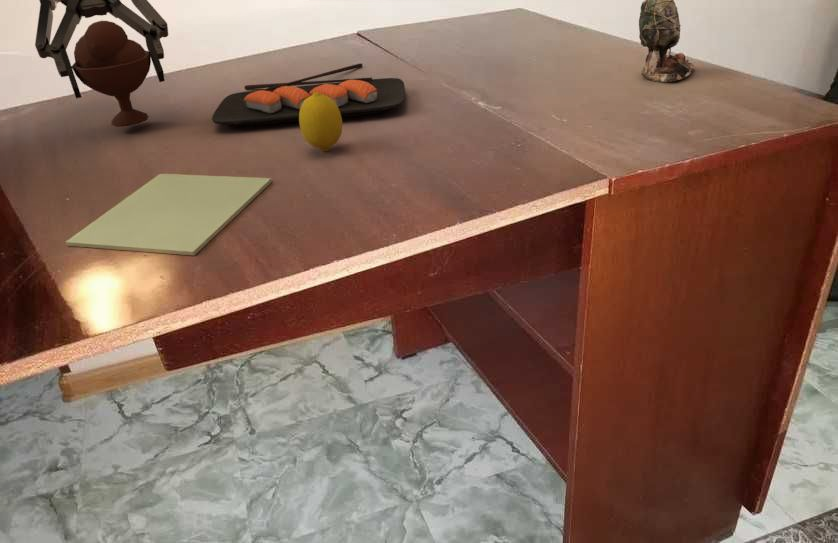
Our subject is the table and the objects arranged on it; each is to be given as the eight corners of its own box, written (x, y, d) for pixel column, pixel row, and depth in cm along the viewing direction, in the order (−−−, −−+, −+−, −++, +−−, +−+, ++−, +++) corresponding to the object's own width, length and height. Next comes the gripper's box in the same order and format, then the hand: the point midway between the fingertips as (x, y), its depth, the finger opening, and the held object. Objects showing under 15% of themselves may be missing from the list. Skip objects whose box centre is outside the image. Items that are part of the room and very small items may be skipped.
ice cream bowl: (181, 111, 110) (155, 11, 102) (129, 136, 101) (96, 29, 93) (131, 106, 114) (102, 10, 106) (77, 130, 105) (41, 28, 98)
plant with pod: (616, 78, 109) (625, -63, 98) (668, 63, 113) (681, -74, 103) (657, 90, 103) (671, -59, 92) (709, 72, 107) (728, -71, 97)
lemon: (354, 146, 94) (346, 87, 90) (327, 161, 90) (317, 101, 86) (323, 140, 97) (313, 83, 92) (296, 155, 93) (285, 96, 89)
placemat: (66, 245, 76) (65, 241, 76) (161, 176, 90) (160, 173, 90) (194, 255, 72) (193, 251, 71) (272, 181, 86) (271, 178, 86)
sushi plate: (209, 136, 102) (203, 110, 100) (245, 77, 128) (241, 56, 126) (406, 117, 102) (404, 91, 100) (403, 62, 127) (401, 40, 125)
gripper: (158, -33, 114) (201, 82, 110) (-1, -11, 105) (39, 114, 101) (154, -68, 107) (200, 54, 103) (-16, -47, 99) (26, 87, 95)
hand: (120, 84), depth 102 cm, fingers closed on ice cream bowl, 11 cm apart
